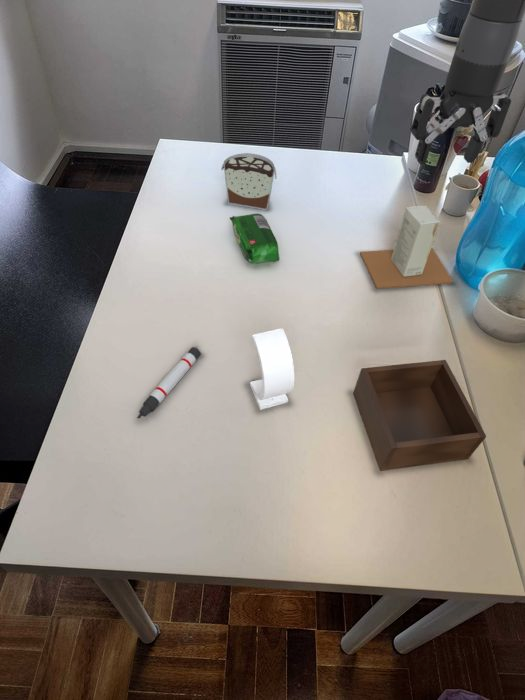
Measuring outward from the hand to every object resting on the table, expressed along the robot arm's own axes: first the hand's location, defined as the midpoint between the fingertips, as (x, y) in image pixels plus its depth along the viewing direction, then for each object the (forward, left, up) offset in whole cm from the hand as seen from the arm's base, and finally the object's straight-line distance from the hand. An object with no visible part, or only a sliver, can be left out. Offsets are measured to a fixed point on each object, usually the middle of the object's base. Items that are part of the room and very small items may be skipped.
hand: (444, 161), depth 79 cm
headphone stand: (+33, +28, -23) cm, 49 cm away
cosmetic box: (0, 0, -23) cm, 23 cm away
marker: (+49, +24, -23) cm, 59 cm away
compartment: (+13, +36, -23) cm, 45 cm away
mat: (0, 0, -23) cm, 23 cm away
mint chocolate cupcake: (+28, -28, -23) cm, 46 cm away
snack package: (+30, -10, -23) cm, 40 cm away
